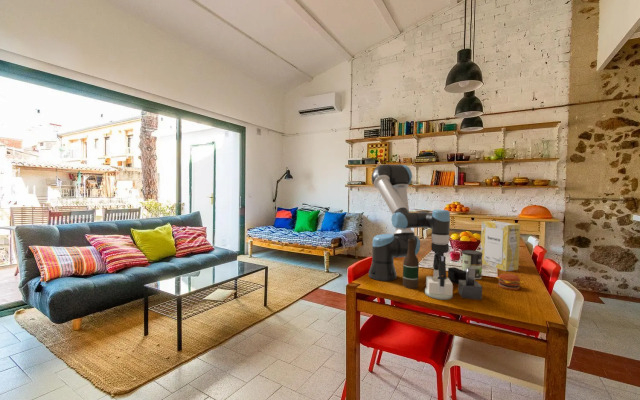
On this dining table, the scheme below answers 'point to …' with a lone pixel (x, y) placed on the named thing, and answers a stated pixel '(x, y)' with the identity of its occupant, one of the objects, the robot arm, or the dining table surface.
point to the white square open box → (433, 285)
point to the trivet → (438, 295)
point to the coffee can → (472, 261)
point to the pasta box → (500, 245)
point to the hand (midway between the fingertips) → (438, 287)
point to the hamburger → (509, 281)
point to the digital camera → (456, 275)
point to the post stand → (470, 286)
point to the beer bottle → (410, 267)
